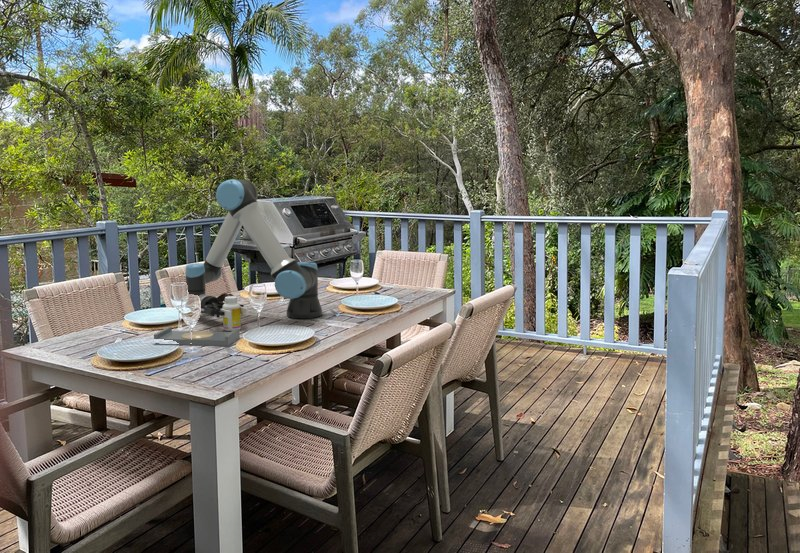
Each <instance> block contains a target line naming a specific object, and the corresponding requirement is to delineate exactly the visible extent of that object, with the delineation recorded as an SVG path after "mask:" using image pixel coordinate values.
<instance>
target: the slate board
mask: <svg viewBox="0 0 800 553" xmlns="http://www.w3.org/2000/svg"><path fill="white" fill-rule="evenodd" d="M172 329H173V327H172V326H167V327H165V328H163V329H162V330H160V331H158V332H156V333H154V334H153V340H154V339H164V340H173V341H176V342H177V343H179V344H180V345H179V346H201V347H202V346H203V347H204V346H205V347H208V346H209V347H230V346H231V345H232V344H234V343H235V342H236V341H237V340H239V339H240V336H241V335H240V330H239V329H237V328H236V329H235V330H233V331H206V330H196V331H193V330H192V340H191V338H190V330H189V331H187V330H172ZM190 343H192V345H190Z"/></svg>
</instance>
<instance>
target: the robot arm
mask: <svg viewBox="0 0 800 553" xmlns="http://www.w3.org/2000/svg"><path fill="white" fill-rule="evenodd" d="M258 197H259V195H258V189H257V187H256V186H255V184H254V183H253V182H252V181H250V180H247V179H243V178H241V179H235V178H234V179H233V178H232V179H231V178H230V179H228V180H224V181H223V182H221V183H220V184H219V185H218V186H217V189H216V193H215V198H216V202H217V204H218V205H219V206H220V207H221V208H222V209H224V210H226V211H228V212H227V213H226V216H225V217H224V219H223V221H222V224H221V226H220V227H219V230H218V233H217V234H216V236H215V238H214V241H213V243H212V246H211V247H210V250H209V251H208V253H207V255H206V258H205V260H204V263H194V262H193V263H188V264H187V265H186V266H185V284H186V283H187V285H188V292H189V294H194V295H198V296H199V297H200V300H201V312H200V313H201V314H203V315H209V316H210V317H215V316H216V318H220V317H222V318H223V317H226V318H229V319H230V318H231V311H228V310H225V309H223V305H224V304H225V302H223V303H222V302H220V300H219V299H218V298H217V296H212V295H209V294H207V293H206V284H209V283H211V282H215V281H217V280H219V279H220V278H221V276H222V273H223V270H222V268H223V266H224V263H225V261H226V259H227V257H228V255H229V253H230V251H231V249H232V247H233V246H234V243H235V241H236V239H237V237H238V235H239V233H240V231H241V229H242V226H243V228H244V230H245V231H246V233H247V235H248V237H249V238H250V239H251V240H252V242H253V244H255V246H256V248H257V250H258V251H259V252H260V255H261V256H262V257H263V259H264V260H265V261H266V262H265V263H267V265H268V266H269V268H270V269H271V272H270V275H271V277H272V279H273V281H274V288H275V290H276V293H278V295H279V296H281V297H282V298H284V299H287V300H289V301H288V305H287V308H286V317H287V316H288V318H289V317H293V318H292V319H294V318H311V319H314V318H313V317H317V318H319V317H318V316H320V317H322V316H323V309H322V306H321V302H320V300H319V295H318V294H319V285H318V283H319V282H318V281H319V280H318V278H319V277H318V276H319V275H318V273H319V269H318V264H317V263H316V262H301V261H299V262H298V261H297V259H296V258H291V257H290V256H289V254H288V253H287V252H286V250H285V248H284V247H283V245H282V244H281V242H280V241H279V240H278V238H277V236H276V235H275V234H274V232H273V230H272V229H271V227H270V226H269V224H268V223H267V221H266V220H265V218H264V217H263V215H262V214H261V211H259V209H258V205H259V204H258V203H259V202H258ZM239 304H240V314H241V315H242V316H248V315H249V309H248V307H244V304H242V303H239ZM321 315H322V316H321Z"/></svg>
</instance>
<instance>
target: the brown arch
mask: <svg viewBox="0 0 800 553" xmlns="http://www.w3.org/2000/svg"><path fill="white" fill-rule="evenodd" d="M228 296H234V295H233V294H232V293H228V292H223V293H221V294H220V295H218V296H216V298H218V299H219V300H220V302H222V303H224V302H225V297H228Z"/></svg>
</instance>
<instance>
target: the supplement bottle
mask: <svg viewBox="0 0 800 553" xmlns="http://www.w3.org/2000/svg"><path fill="white" fill-rule="evenodd" d="M224 303H225V304H224V305H223V309H225V310H228V311H231V318H230V319H229V318H226V317H223V316H222V323H223V325H222V326H223V331H224V332H232V331H233V330H235V329H236V328H237V329H239V331H240V330H241V329H242V318H241V315H242V314H240V304H241V303H239V302H238V296H235V295H233V296H228V297H225V301H224Z"/></svg>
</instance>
